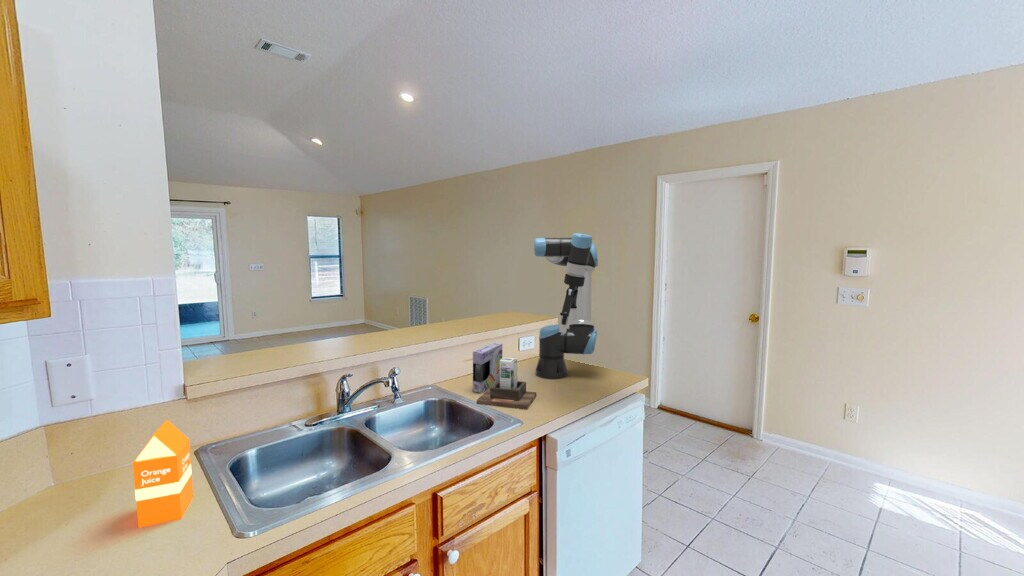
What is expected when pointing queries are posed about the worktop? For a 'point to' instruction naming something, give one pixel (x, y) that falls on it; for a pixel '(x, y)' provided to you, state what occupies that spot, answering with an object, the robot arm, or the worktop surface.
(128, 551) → the worktop surface
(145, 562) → the worktop surface
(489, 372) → the cake pan box
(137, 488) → the orange juice
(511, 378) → the syrup box
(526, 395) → the socket board
